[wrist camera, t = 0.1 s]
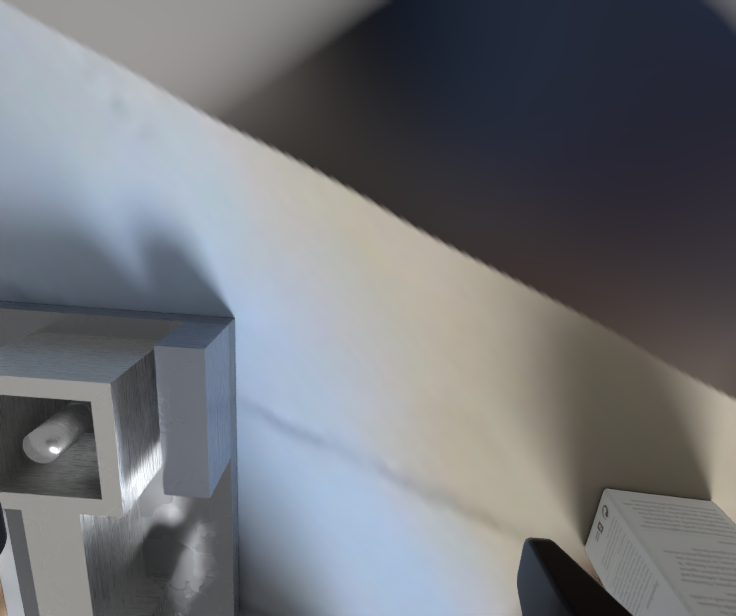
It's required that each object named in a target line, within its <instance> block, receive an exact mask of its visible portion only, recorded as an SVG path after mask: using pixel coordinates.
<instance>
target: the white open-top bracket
mask: <svg viewBox="0 0 736 616" xmlns="http://www.w3.org/2000/svg"><path fill="white" fill-rule="evenodd" d="M159 341H161V340H148V339H134V338H121V337H107V336H93V335H80V334H66V333H52V332H39V331H35V332H33V333H30V334H28V335H26V336H24V337H22V338H20V339H18V340H16V341H13V342H11V343H9V344H7V345H5V346H3V347H1V348H0V502H1V506H2V508H3V509H17V510H21V512H22V517H23V523H24V529H25V535H26V540H27V546H28V552H29V557H30V563H31V569H32V574H33V580H34V586H35V592H36V597H37V603H38V609H39V614H40V616H172V604H171V589H170V579H164V578H151V577H146V569H145V558H144V546H143V535H142V523H141V512H140V500H139V496H140V495H141V493H142V492H143V491H144V489H145V488H146V486H147V485H148V484H149V482H150V481H151V480H152V478H153V477H154V476H155V474H156V473H157V472H158V470H159V469H160V467H161V466H162V454H161V440H160V425H159V411H158V396H157V382H156V367H155V353H154V345H156V344H157V343H158V342H159ZM61 399H65V400H78V401H91V407H92V416H93V424H94V433H84V434H83V435H82V436H81V437H80V438H79V439H78V440H76V441H75V442H74V443H73V444H72V445H71V446H70V447H69V448H68V449H66V450H65V451H64V452H63V453H62V454H61V455H60V456H59V457H58V458H56V459H55V460H54V461H53V462H50V463H46V464H43V463H38V462H35V461H33V460H32V459H30V458H29V457H28V456H27V455H26V453H25V452H24V450H23V440H24V438H25V437H26V436H27V435H28V434H29V433H31V432H32V431H33V430H35V429H36V428H37V427H39V426H40V425H41V424H42V423H44V422H45V421H46V420H48V419H49V418H50V417H52V416H53V415H54V414H56V413H57V412H58V411H60V410H61V409H62V401H61Z"/></svg>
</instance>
